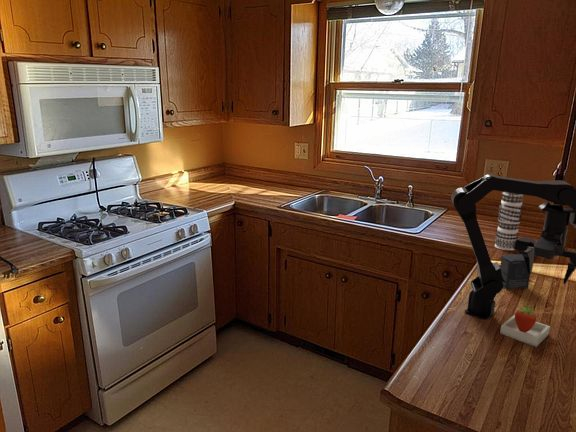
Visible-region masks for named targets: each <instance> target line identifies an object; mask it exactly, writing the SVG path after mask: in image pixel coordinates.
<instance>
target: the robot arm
mask: <svg viewBox="0 0 576 432" xmlns="http://www.w3.org/2000/svg"><path fill="white" fill-rule="evenodd" d="M493 191H497V192H502V193H503V192H509V193H516V194H523V196H531V197H537V198H540V199H543V200H545V201H544V202H543V203H541V204H540V205H538V208H539V209H540V210H541V211H542V212H545V217H544V224H543V228H542V230H541V234H540V236H539V238H538V239H537V240H535V238H531V237H525V236H522V237H518V238H517V239H516V241H515V242H514V246H513V249H515V250H516V251H517V253H518V254H522V255H523V257H524V259H525V262H526V266H527V270H528V274H530V275H532V272H533V267H534V257H536V258H543V259H546V260H553V259H554V258H555V257H563V258H569V262H568V263H567V268H566V271H565V275H564V277H563V284H564V285H566V284H567V282H568V281H569V279H570V278H571V277H572V275H573V273H574V272H575V271H576V249H574V250H572V251H571V250H567V249H566V239H567V234H568V232H569V229H568V228H569V223H570V225H572V227H573V228H574V229H576V188H575V186H574V185H572V184H570V183H568V182H566V181H564V180H557V179H556V180H552V179H551V180H541V181H540V180H538V181H536V180H535V181H534V180H528V179H522V178H521V179H520V178H514V177H507V176H506V177H505V176H499V175H495V174H492V173H487V174H484V175H483V176H482V177H480V178H479V179H477V180H475V181H473V182H471V183H468V184H466V185H465V186H464V187H458V188H456V189H454V191H452V193H451V196H450V198H451V202H452V204H453V206H454V208H455V211H456V212H457V213H458V215H459V217H460V219H461V220H462V222H463V224H464V227H465V230H466V233H467V236H468V240H469V242H470V244H471V247H472V250H473V253H474V255H475V259H476V263H477V265H476V266H477V273H478V276H476V277H475V278H473V279H472V280H471V281H470V285H471V288H472V289H471V291H469V295H468V301H467V302H468V303H467V308H466V309H465V310H464V313H466V314H469V315H472V316H474V317H477V318H479V319H481V320H482V319H483V320H487V319H488V318H489V317H491V316H492V315H494V314H495V309H496V301H495V298H496V296H497V294H499V293H501V292H502V290H503V289H504V285H503V282H505V280H504V278H503V276H502V272H501V268H500V265H499V262H498V261H495V262H492V260H491V257H490V255H489V251H488V248H487V245H486V242H485V240H484V237H483V234H482V230H481V228H480V227H481V226H480V225H479V221H478V218H477V214H478V213H477V206H476V203H477V204H478V202H480V201H481V200H483V198H485V197H486V196H487V195H488V194H489V193H490V192H493ZM550 203H551V204H550ZM564 206H568V207H569V208H568V207H564ZM515 250H514V251H515Z"/></svg>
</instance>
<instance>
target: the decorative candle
mask: <svg viewBox="0 0 576 432" xmlns="http://www.w3.org/2000/svg"><path fill="white" fill-rule="evenodd" d="M501 194H502V199H501V201H500V203H501V204H499V205H498V208H499V209H498V216H497V221H498V226H497V230H496V233H495V238H494V239H495V240H494V243H495V244H494V247H495V248H497V249H499V250H502V251H515V249H513V246H514V242H515V241H516V240H517V239H519V225H520V223H521V220H520V218H522V215H523V212H522V210H523V209H524V204H523V198H524V195H523V194H516V193H509V192H503V191H502V192H501Z"/></svg>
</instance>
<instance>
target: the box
mask: <svg viewBox="0 0 576 432" xmlns="http://www.w3.org/2000/svg"><path fill="white" fill-rule="evenodd" d="M499 266H500V268H501V272H502V276H503V278H504V280H505V282H503V285H504V287H503V289H506V290H515V289H516V290H519V289H528V288H529V285H530V284H529V283H530V278H531V274H528V270H527V266H526V262H525V259H524V257H523V255H522V254H521V253H518V254H504V255H501V259H500V265H499Z"/></svg>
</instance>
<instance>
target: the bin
mask: <svg viewBox="0 0 576 432" xmlns="http://www.w3.org/2000/svg"><path fill="white" fill-rule="evenodd" d="M550 328H551V326H550V325H549V324H548V325H547V324H544V323H541V322H538V321H536V322H535V324H534V326H533V327H532V328H531V329H530V330H529V331H527V332H521V331H520V330H519V329H518V327H517V324H516V321H515V314H513V315H512V316H511V317H510V318H508V319H506V321H505V322H503V323H502V324H501V326H500V333H499V334H500V335H503V336H506V337H508V338H511V339H513V340H515V341H518V342H521V343H524V344H527V345H529V346H532V347H535V348H538V346H539V345H540V344H541V343H542V342H543V341H544V340H545V339H546V338H547V337H548V336H549V333H550V330H551V329H550Z"/></svg>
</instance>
